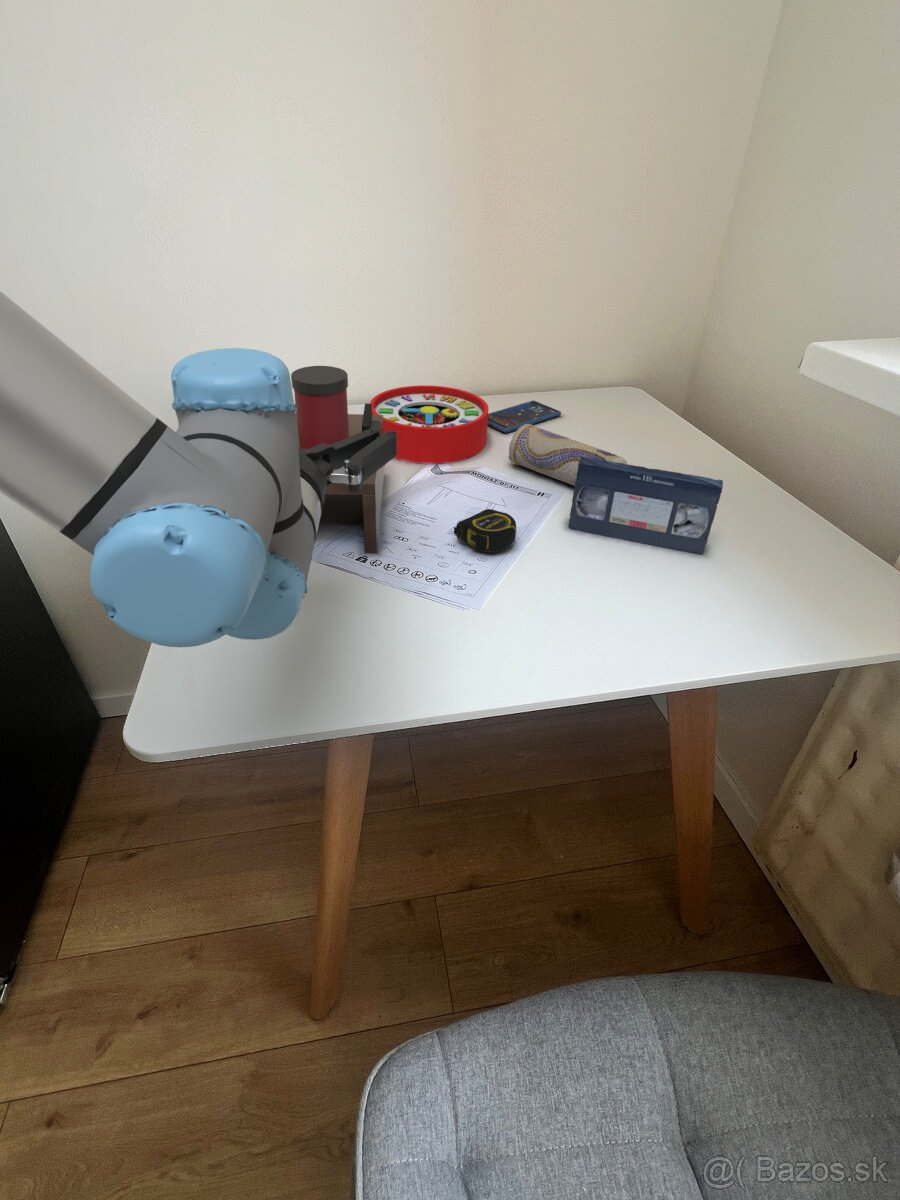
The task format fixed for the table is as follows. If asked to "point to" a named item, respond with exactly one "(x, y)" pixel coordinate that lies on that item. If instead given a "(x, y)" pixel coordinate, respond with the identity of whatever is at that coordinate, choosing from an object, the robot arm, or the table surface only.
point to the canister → (320, 405)
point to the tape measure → (487, 531)
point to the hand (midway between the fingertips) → (308, 413)
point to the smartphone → (520, 416)
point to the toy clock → (433, 422)
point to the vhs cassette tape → (644, 504)
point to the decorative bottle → (553, 453)
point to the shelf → (364, 489)
